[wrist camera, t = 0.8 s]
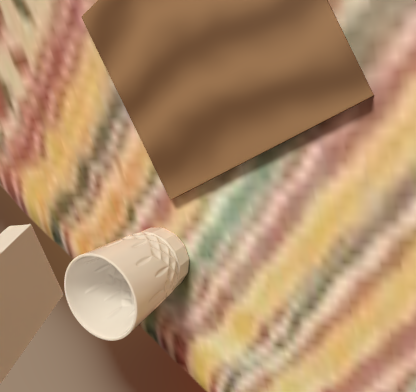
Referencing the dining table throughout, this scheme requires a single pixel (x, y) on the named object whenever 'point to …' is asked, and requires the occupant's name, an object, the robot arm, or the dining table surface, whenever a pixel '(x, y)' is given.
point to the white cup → (124, 281)
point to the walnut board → (223, 77)
